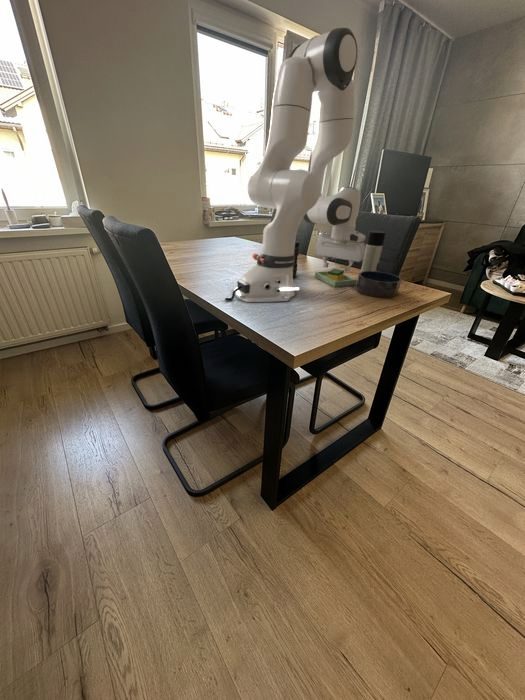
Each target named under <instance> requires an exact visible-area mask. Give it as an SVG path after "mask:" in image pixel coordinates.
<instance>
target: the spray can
mask: <svg viewBox="0 0 525 700" xmlns="http://www.w3.org/2000/svg"><path fill="white" fill-rule="evenodd" d="M386 234H387V233H386V232H385V231H381V230H379V231H378V230H370V231H369V232H368V235H367V240H366V243H365V255H364V259H363V260H362V262H361V263H362V265H361V267H360V272H364V271H377V272H378V269H379V264H380V260H381V256H382V251H383V248H384V247H383V246H384V244H385V243H384V242H385V239H386V238H385V237H386Z"/></svg>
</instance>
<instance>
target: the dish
mask: <svg viewBox="0 0 525 700" xmlns="http://www.w3.org/2000/svg"><path fill="white" fill-rule="evenodd" d="M328 271H329V270H326V271H325V270H324V271H323V270H322V271H315V272H314V278H315V279H318V280H320V281H321V282H324V283H326V284H328V285H330V286H331V287H333V288H338V287H349V286H356V283H357V279H355V278H353V277H351V276H349V275H346V274H343V279H341V280H339V281H334V280H332V279H330V278H328V277H327V276H328Z"/></svg>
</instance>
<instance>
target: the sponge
mask: <svg viewBox="0 0 525 700" xmlns="http://www.w3.org/2000/svg"><path fill="white" fill-rule="evenodd" d="M327 271H328V276H327V277H328V278H330V279H332V280H334V281H339V280H341V279H343V274H344V272H345V269H344V270H343V269H340V268H332V269H331V270H327ZM344 275H345V274H344Z"/></svg>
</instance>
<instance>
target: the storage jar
mask: <svg viewBox="0 0 525 700" xmlns="http://www.w3.org/2000/svg"><path fill="white" fill-rule="evenodd" d="M299 251H300V240H298V239H296V241H295V248H294V254H295V262H294V269H293V280H294V279H296V278H297V273H298V257H299V253H300V252H299Z"/></svg>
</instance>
